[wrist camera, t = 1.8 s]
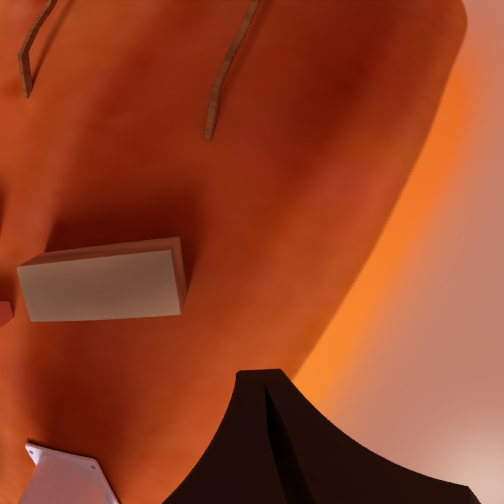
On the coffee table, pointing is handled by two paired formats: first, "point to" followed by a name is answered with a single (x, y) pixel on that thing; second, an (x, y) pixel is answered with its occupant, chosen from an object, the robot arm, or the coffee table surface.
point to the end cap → (5, 312)
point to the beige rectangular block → (106, 282)
